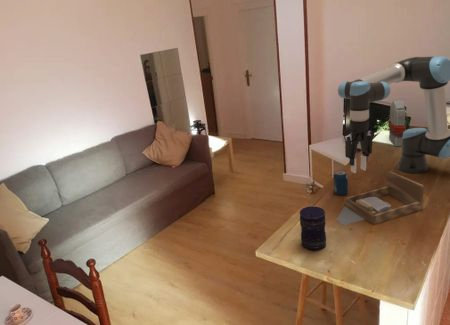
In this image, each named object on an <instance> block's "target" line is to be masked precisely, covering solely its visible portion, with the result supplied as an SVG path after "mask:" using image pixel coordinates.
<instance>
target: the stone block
mask: <svg viewBox="0 0 450 325" xmlns="http://www.w3.org/2000/svg"><path fill="white" fill-rule="evenodd" d="M363 200H364V201H365V202H367V203H369V204H371V205H372V206H373V211H375V212H376V214H378V213H381V212H384V211H388V210H391V209H392V205H391V203H389V202H387V201H384V200H382V199H380V197H378V198H377V197H368V198H365V199H363Z"/></svg>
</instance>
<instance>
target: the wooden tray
mask: <svg viewBox="0 0 450 325" xmlns="http://www.w3.org/2000/svg"><path fill="white" fill-rule="evenodd" d="M386 174H387V176H386V177H387V178H386V179H387V180H386V186H383V187H380V188H375V189H373V190H368V191H366V192H362V193H359V194H354V195H351V196H347V197H344V199H343V200H344V207H345V206H346V207H347V208H349V209H350V210H352V211H353V212H355V213H356V214H358V215H359V216H361V217H362V218H364V219H365V221H367V222H369V223H371V224H372V225H373V226H374V225H377V224H379V223H384V222H387V221H390V220H393V219H396V218H400V217H403V216H406V215H409V214H412V213H417V212H419V211H423V200H424V190H425V189H424V187H425V186H424V184H421V183H419V182H417V181H414V180H412V179H409V178H407V177H405V176H402V175H400V174H398V173H396V172H394V171H391V170H388V171H387V173H386ZM388 195H389V196H391V197H393V198H395V199H397V200H399V202H400V201H401V202H402V203H404V204H405V205H401V206H398V207H395V208H391V210H388V211H384V212H381V213H378V214H375V215H374V214H372V213H371V212H369V211H368V210H366V209H364V208H363V207H361V206H359V205H358V204H356V200H360V199H362V200H363V199H365V198H368V197H377V198H381V197H385V196H388Z"/></svg>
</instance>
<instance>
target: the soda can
mask: <svg viewBox="0 0 450 325" xmlns="http://www.w3.org/2000/svg"><path fill="white" fill-rule="evenodd" d="M332 176H333V193H334V194H335V195H337V196H339V195H340V197H341V195H343V196H346V195H347V194H348V192H349V187H348V186H349V185H348V184H349V181H348V180H349V176H348V174H347V171H346V170H343V169H342V170H341V169H340V170H339V169H338V170H336V171H334V174H333V175H332Z"/></svg>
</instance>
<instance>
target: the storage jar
mask: <svg viewBox="0 0 450 325" xmlns="http://www.w3.org/2000/svg"><path fill="white" fill-rule="evenodd" d="M299 224H300V229H301V232H300V240H301V246H302V248H303V249H305V250H307V251H310V252H319V251H323V250H324V249H325V248H326V247H327V242H326V241H327V235H326V211H325V210H324V208H321V207H319V206H306V207H304V208H303V207H302V208H301V210H300V211H299Z"/></svg>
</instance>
